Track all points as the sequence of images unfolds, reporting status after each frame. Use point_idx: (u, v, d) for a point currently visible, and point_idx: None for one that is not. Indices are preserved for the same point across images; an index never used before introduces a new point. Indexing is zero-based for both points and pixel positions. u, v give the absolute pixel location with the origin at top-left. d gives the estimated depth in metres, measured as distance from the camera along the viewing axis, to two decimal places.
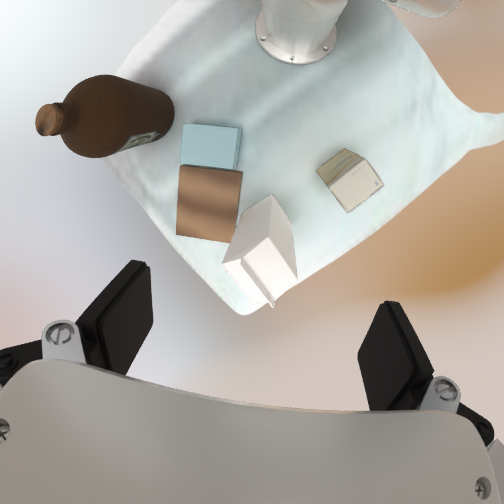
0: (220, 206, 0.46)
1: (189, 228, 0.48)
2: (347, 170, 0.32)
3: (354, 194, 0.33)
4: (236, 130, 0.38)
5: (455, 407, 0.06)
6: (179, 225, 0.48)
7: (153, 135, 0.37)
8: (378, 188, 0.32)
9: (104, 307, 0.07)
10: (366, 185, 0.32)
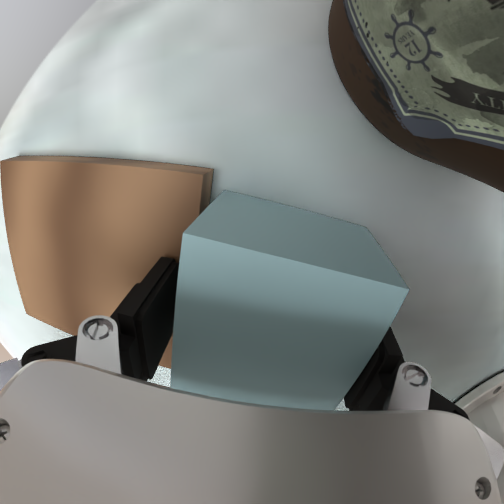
0: (87, 308, 0.13)
1: (17, 206, 0.11)
2: None
3: None
4: None
5: (428, 391, 0.06)
6: (17, 171, 0.10)
7: (428, 105, 0.04)
8: None
9: (142, 302, 0.08)
10: None
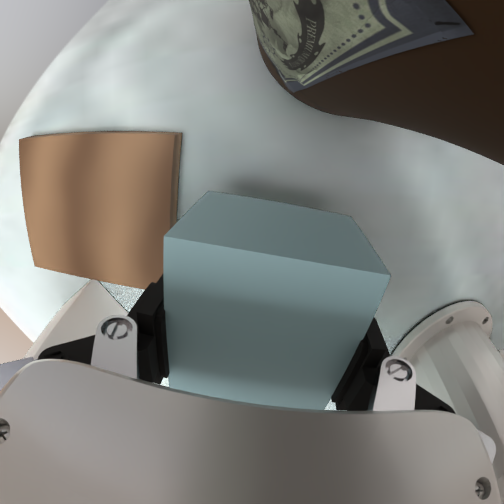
0: (89, 246, 0.17)
1: (34, 173, 0.14)
2: None
3: None
4: None
5: (413, 385, 0.07)
6: (34, 145, 0.14)
7: (289, 73, 0.08)
8: None
9: (161, 301, 0.08)
10: None
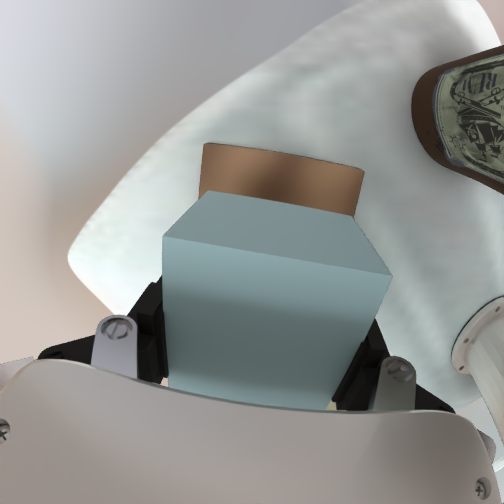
0: None
1: (220, 178, 0.21)
2: None
3: None
4: None
5: (413, 385, 0.07)
6: (226, 154, 0.20)
7: (458, 157, 0.14)
8: None
9: (161, 301, 0.08)
10: None
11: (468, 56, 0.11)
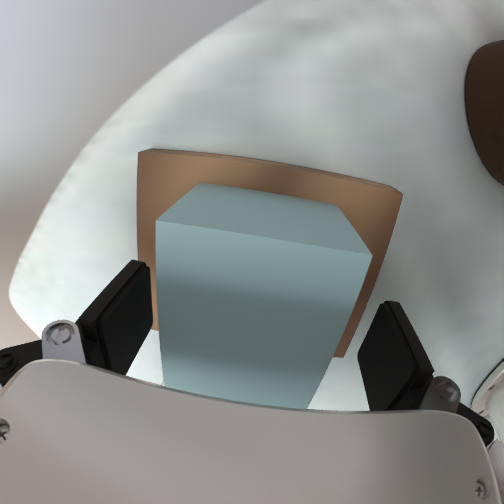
0: None
1: (167, 207, 0.13)
2: None
3: None
4: None
5: (455, 407, 0.06)
6: (174, 167, 0.12)
7: None
8: None
9: (104, 307, 0.07)
10: None
11: None
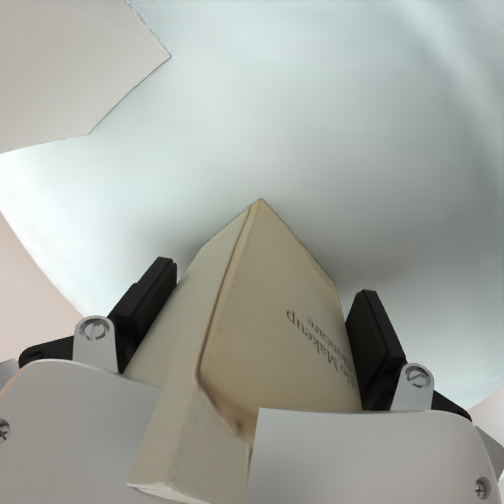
0: None
1: None
2: None
3: None
4: None
5: (430, 393, 0.06)
6: None
7: None
8: None
9: (138, 303, 0.08)
10: None
11: None
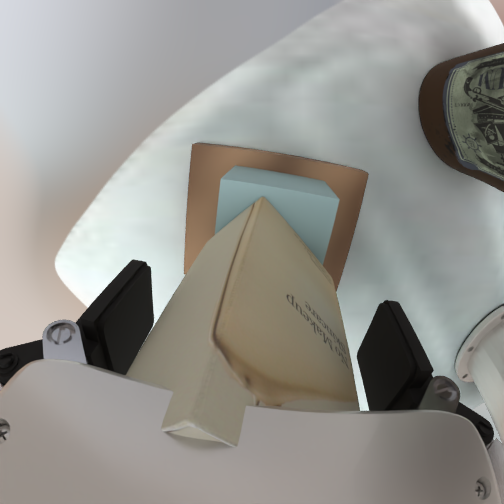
0: None
1: (211, 181, 0.19)
2: None
3: None
4: None
5: (454, 407, 0.06)
6: (217, 155, 0.18)
7: (472, 159, 0.12)
8: None
9: (105, 307, 0.07)
10: None
11: None
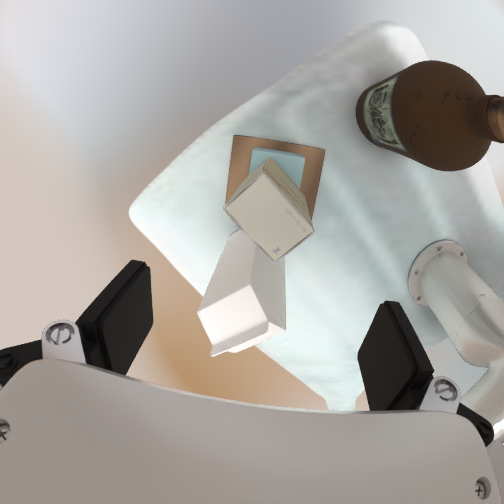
0: None
1: (243, 154, 0.36)
2: (292, 202, 0.21)
3: (256, 216, 0.22)
4: None
5: (455, 407, 0.06)
6: (246, 141, 0.35)
7: (376, 138, 0.29)
8: (268, 254, 0.23)
9: (104, 307, 0.07)
10: (272, 234, 0.22)
11: None
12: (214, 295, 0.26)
